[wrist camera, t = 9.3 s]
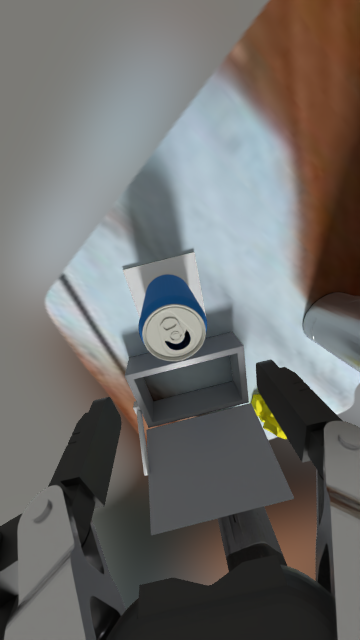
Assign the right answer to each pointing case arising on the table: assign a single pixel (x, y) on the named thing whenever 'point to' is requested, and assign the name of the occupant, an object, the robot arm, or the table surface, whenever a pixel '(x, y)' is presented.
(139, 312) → the pad
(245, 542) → the electronic device
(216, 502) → the case
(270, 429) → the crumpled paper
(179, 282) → the beverage can
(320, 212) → the table surface
